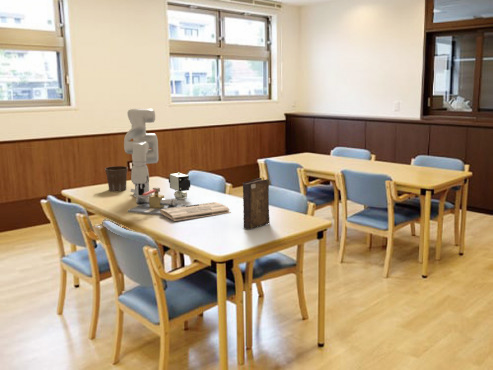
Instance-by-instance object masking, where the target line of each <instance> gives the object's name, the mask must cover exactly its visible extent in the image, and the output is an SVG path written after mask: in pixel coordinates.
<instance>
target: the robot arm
mask: <svg viewBox="0 0 493 370" xmlns="http://www.w3.org/2000/svg"><path fill="white" fill-rule="evenodd" d="M126 113H127V118H128V120H129V122H130V124H131V128H130V129H129V130H128V131H127V132H126V134H125V136H124V139H123V140H124V141H123V148H124V152H125V153H126V154H128V155H131V159H132V162H131V163H132V166H131V173H130V175H131V176H130V177H131V178H130V181H131V183H132V184H133V185H134V188H130V193H133V194H132V196H133V197H134V198H137V196H142V197H147V198H149V196H152V195H153V193H151V194H149V195H147V196H143V193H145V192H148V191H150V175H149V168H148V165H147V164H157V163H158V162H159V141H158V136H157V134H156V133H152V132H151V133H150V132H149V133H148V132H147V130H146V129H147V127H146V123H149V124H150V123H155V121H156V112H155V109H153V108H132V109H131V108H130V109H128V111H127V112H126ZM131 140H133V141H131Z"/></svg>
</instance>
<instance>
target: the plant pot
mask: <svg viewBox="0 0 493 370" xmlns="http://www.w3.org/2000/svg"><path fill="white" fill-rule="evenodd" d="M128 169H129V167H128V166H124V165H121V166H120V165H118V166H117V165H115V166H113V165H112V166H108V167H105V168H104V170H105V174H106V178H107V179H106V180H107V186H108V190H109V191H110V192H120V191H121V192H123V191H126V190H127V181H128V180H127V178H128V175H127V174H128Z"/></svg>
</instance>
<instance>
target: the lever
mask: <svg viewBox="0 0 493 370" xmlns="http://www.w3.org/2000/svg"><path fill="white" fill-rule="evenodd" d="M154 192H158V193H160V192H161V187H152V189H151V190H150V189H149V191H148V192H145V193H143V196H147V195H149V194H151V193H152V194H153V193H154Z"/></svg>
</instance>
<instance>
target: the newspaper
mask: <svg viewBox="0 0 493 370" xmlns="http://www.w3.org/2000/svg"><path fill="white" fill-rule="evenodd" d="M160 213H162V214H163V215H162V216H165V217H166V218H168V219H170V220H171V221H174V222H177V221H184V220H192V219H197V218H198V219H199V218H202V217H203V218H205V217H210V216H218V215H223V214H230V213H231V211H230V208H229V207H228V206H226V205H224V204H223V203H220V202H217V201H214V202H207V203H199V204H191V205H185V206H182V207H174V208H167V209H160Z"/></svg>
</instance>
